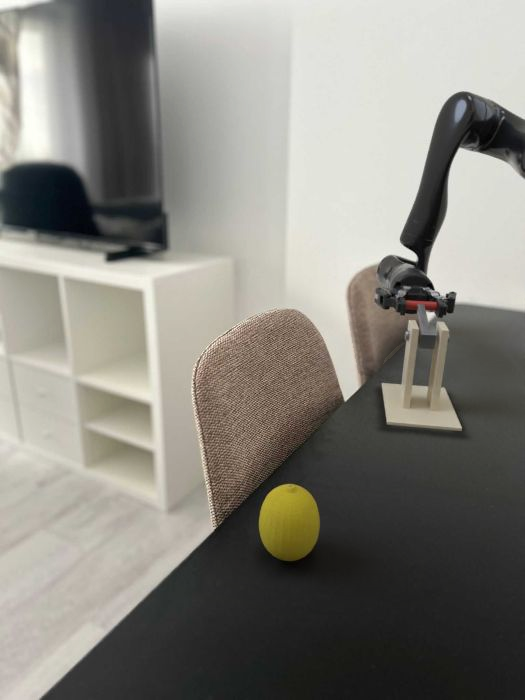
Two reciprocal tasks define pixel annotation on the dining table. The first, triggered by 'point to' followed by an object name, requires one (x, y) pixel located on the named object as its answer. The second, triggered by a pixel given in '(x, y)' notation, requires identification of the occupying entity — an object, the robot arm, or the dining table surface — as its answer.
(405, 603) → the dining table surface
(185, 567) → the dining table surface
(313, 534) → the lemon
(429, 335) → the lever
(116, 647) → the dining table surface
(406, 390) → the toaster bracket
